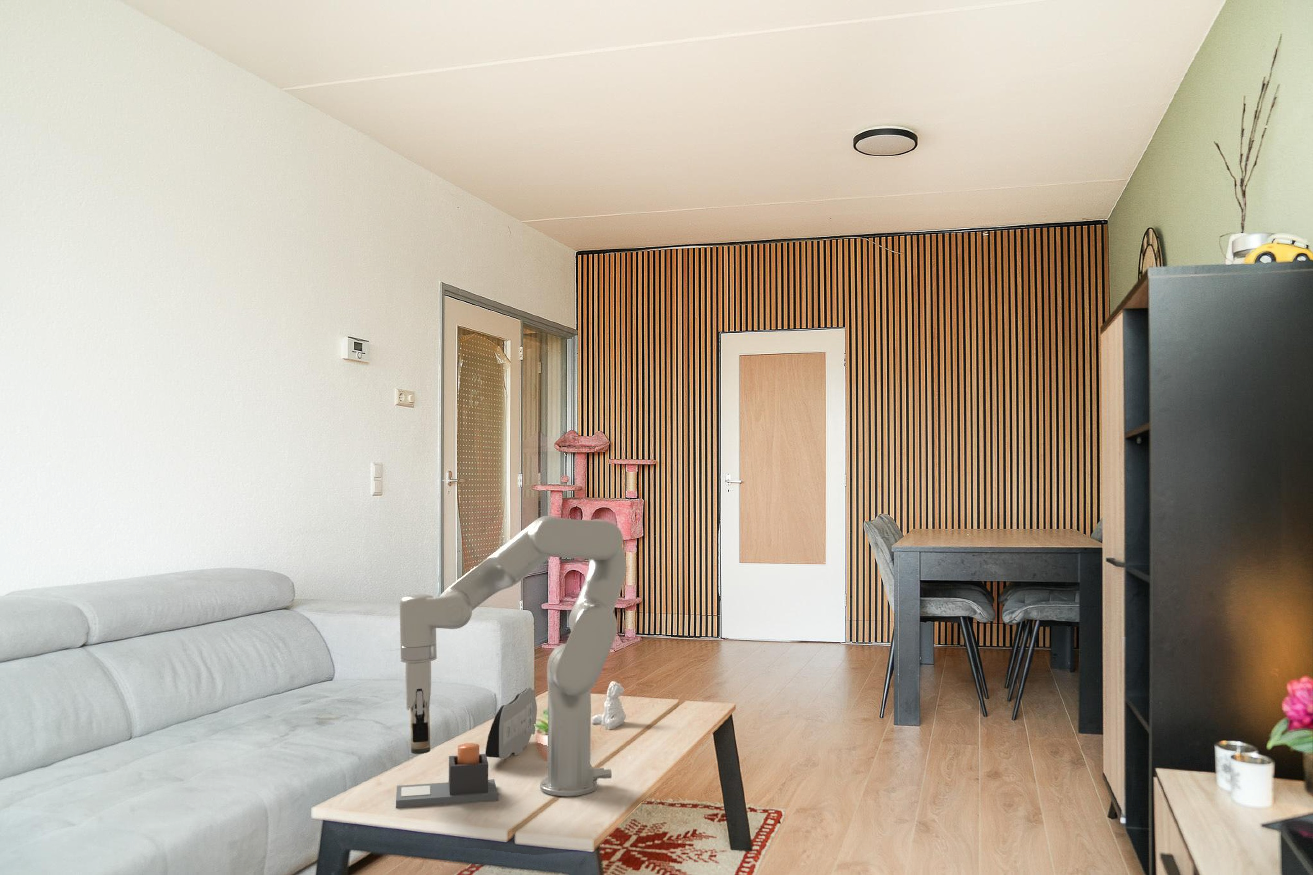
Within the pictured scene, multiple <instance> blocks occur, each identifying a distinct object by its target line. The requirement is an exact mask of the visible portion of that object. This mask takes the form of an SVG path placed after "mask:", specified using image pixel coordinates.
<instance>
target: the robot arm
mask: <svg viewBox="0 0 1313 875" xmlns="http://www.w3.org/2000/svg"><path fill="white" fill-rule="evenodd" d="M623 544H624V536H623V532H622V530H621V529H620V528H619V526H618V525H616V524H614V523H613V522H611V521H608V520H606V519H600V518H596V519H591V520H587V519H573V518H565V517H557V516H553V515H543V516H540V517H539V518H537V519H535V520H534V521H533V522H531V523H530V524H529V525H527V526H526V527H525V528H524V529H523V530H521V531H520V532H519V533H517V534H516V535H515V536H513V537H512V538H511V539H510V540H509V541H507V542H506V543H504V545H502V546H500V547H499V548H498V549H496V551H494V552H493V553H491V555H489V556H488V557H487V558H485V559H484V560H483V561H482V562H480V563H479V564H478V565H477V566H475V567H474V568H472V569H470V571H468V572H467V573H465V574H464V575H462V577H461V578H459V579H458V580H456V581H455V582H454V583H453V584H452V585H450V586H449V587H448V588H447V589H446V590H444V591H443V592H442V593H441V594H440V595H439V596H433V595H431V594H423V593H422V594H420V593H419V594H410V595H406V596H403V597H402V598H401V599H400V603H399V627H400V628H399V631H400V632H399V636H400V637H399V639H400V662H402V663H404V664H405V709H406V710H407V711H410V708H412V707H413V720H414V723H412V729H413V742H414V743H416V742H427V741H428V722H427V713H426V710H427V708H428V707H429V708H430V704H431V697H432V696H431V694H432V662H433V661H436V660H437V658H438V656H437V655H438V654H437V629H444V630H445V629H447V630H457V629H461V628H463V627H464V626H466V625H468V623H469V622H470V620H471V618H472V615H473V611H474V610H475V609H476V608H477V607H479V606H480V605H481V604H483V603H484V602H485V601H487V600H488V599H489V598H490V597H492V596H494V595H495V594H497V593H498V592H500V591H504V590H506V589H509V588H512V587H513V586H515V585H517V584H518V583H521V581H522V580H524V579H525V578H526V577H527V576H529V574H531V573H533V571H535V570H536V569H537V568H538V567H540V566H541V565H542V564H543V563H545V562H546V561H548V559H550V558H551V557H552V558H553V557H554V558H555V557H556V558H563V559H576V560H577V559H580V560H588V568H587V569H588V570H587V572H586V576H585V578H584V582H583V585H582V587H581V589H580V592H579V594H578V596H577V598H576V601H575V603H574V605H573V607H572V609H571V611H570V614H569V616H568V627H569V629H570V632H569V636H568V639H567V641H566V643H562V644H559V645H558V646H556V647H555V648H554V649H553V650H552V652H550V655H549V657H548V659H547V663H546V664H547V665H546V680H547V713H548V714H547V769H546V770H547V773H546V775H547V777H545V778H544V779H542V780H541V781H540V783H539V784H540V786H539V788H540V790H541V791H542V792H543V793H545V794H548V795H551V796H557V797H576V796H583V795H586V794H590V793H592V792H594V791H595V790H596V789H597V788H598V780H599V779H604V780H606V779H612V769H611V768H610V769H609V768H608V769H605V768H604V767H595V768H594V767H593V766H592V763H591V740H592V738H591V730H592V726H591V724H592V723H591V717H592V699H591V698H592V694H591V690H593V688H594V687H595V685H596V684H597V682H598V680H599V678H600V676H601V673H602V671H603V669H604V666H605V663H606V662H607V659H608V656H609V655H610V652H611V649H612V647H613V645H614V642H615V639H616V636H617V630H618V620H617V617H616V615H615V613H614V611H615V607H616V605H617V603H618V600H619V598H620V594H621V592H622V588H623V585H624V583H625V579H626V573H627V560H626V555H625V550H624V546H623ZM424 703H425V708H423V705H424ZM416 705H417V708H415V706H416ZM426 706H427V708H426ZM416 711H417V713H416ZM423 711H424V712H423Z"/></svg>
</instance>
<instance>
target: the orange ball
mask: <svg viewBox="0 0 1313 875" xmlns="http://www.w3.org/2000/svg"><path fill="white" fill-rule="evenodd" d="M479 754H480V744H479V743H473V742H472V743H471V742H470V743H469V742H468V743H467V742H466V743H461V744H458V745H457V756H458V765H461V764H477V763H479Z"/></svg>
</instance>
